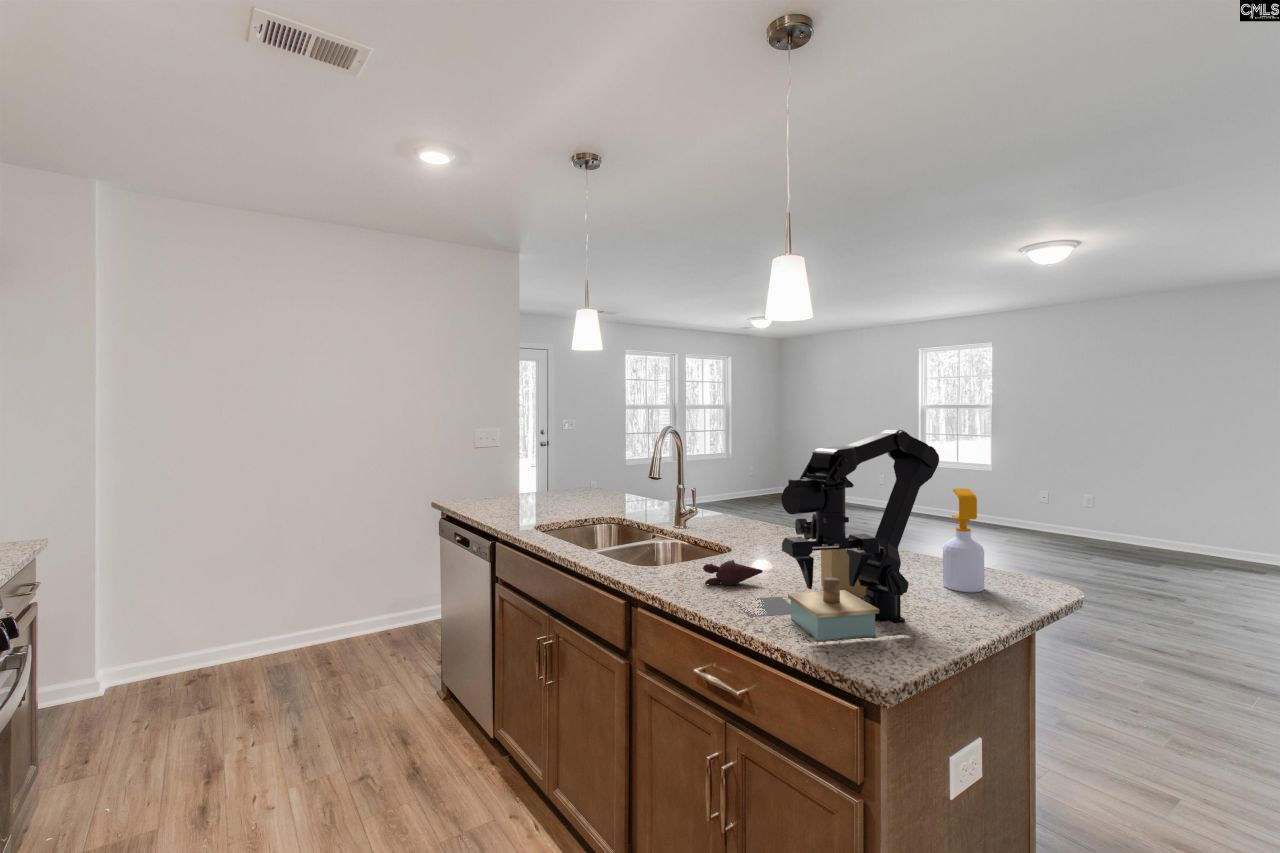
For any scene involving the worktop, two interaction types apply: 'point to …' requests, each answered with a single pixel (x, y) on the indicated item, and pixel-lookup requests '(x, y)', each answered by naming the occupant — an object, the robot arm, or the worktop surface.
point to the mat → (772, 607)
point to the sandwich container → (839, 570)
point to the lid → (832, 601)
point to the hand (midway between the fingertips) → (830, 587)
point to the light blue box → (833, 624)
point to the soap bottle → (964, 550)
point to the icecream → (730, 573)
